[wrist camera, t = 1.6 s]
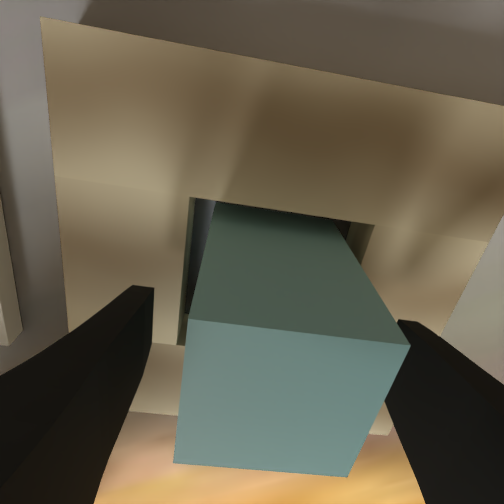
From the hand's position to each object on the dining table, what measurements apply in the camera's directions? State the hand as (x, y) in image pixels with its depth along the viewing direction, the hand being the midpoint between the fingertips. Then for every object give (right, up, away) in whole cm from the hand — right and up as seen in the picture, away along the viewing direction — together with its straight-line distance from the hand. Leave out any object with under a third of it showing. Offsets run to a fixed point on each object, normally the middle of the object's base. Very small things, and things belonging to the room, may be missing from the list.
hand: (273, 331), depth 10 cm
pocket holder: (0, +2, +4) cm, 4 cm away
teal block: (0, +2, +4) cm, 4 cm away
